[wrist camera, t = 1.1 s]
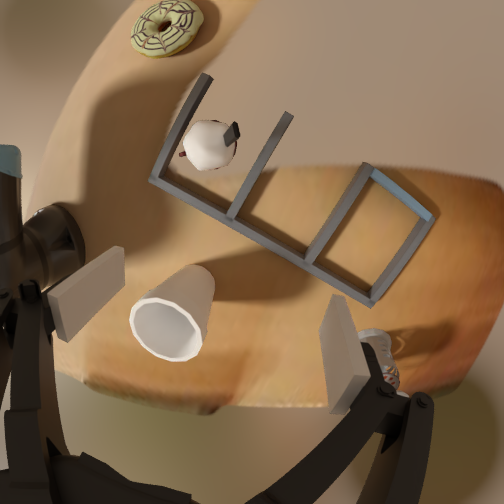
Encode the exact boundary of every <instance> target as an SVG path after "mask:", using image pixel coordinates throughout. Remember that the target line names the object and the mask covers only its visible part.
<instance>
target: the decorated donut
mask: <svg viewBox="0 0 504 504" xmlns="http://www.w3.org/2000/svg"><path fill="white" fill-rule="evenodd" d="M203 21H204V16H203V14H202V12H201V11H200V9H199V7H198V6H197V5H196V4H195V3H193V2H192V1H190V0H164V1H161V2H159V3H156V4H154V5H153V6H151V7H150V8H148V9H147V10H146V11H145V12H144V13H143V14H142V15H140V17H139V18H138V20H137V21H136V23H135V24H134V26H133V28H132V31H131V43H132V46H133V47H134V48H135V50H136V51H137V52H139V53H140V54H142V55H144V56H146V57H150V58H153V59H158V58H163V57H168V56H171V55H173V54H176V53H178V52H179V51H181V50H183V49H184V48H185V47H187V46H188V45H189V44H190V43H191V42H192V41H193V40H194V38H195V36H196V35H197V33H198V30H199V28H200V25H201V24H202V23H203ZM170 22H172V23H171V26H170V27H169V28H168V29H167V30H166V31H165V32H161V30H162V29H163V27H164V26H165V25H166V24H168V23H170Z"/></svg>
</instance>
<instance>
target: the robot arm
mask: <svg viewBox="0 0 504 504" xmlns="http://www.w3.org/2000/svg"><path fill="white" fill-rule="evenodd" d="M21 178H22V174H21V152H20V150H19V148H18V147H16V146H14V145H0V409H1V405H2V401H3V397H4V393H5V389H6V386H7V382H8V379H9V376H10V372H11V391H10V392H11V393H10V396H11V397H10V404H11V405H10V406H11V407H10V410H6V411H5V413H4V426H5V440H6V450H7V459H8V466H9V469H5V470H0V504H199V503H198V502H196V501H194V500H192V499H191V494H188V493H184V492H181V491H177V490H174V489H170V488H167V487H164V486H158V485H151V484H143V483H137V482H132V481H130V480H128V479H127V478H125V477H124V476H122V475H121V474H119V473H118V472H117V471H115V470H114V469H113V468H111V467H110V466H109V465H107V464H106V463H104V462H102V461H100V460H98V459H96V458H94V457H92V456H90V455H88V454H86V453H84V452H82V454H81V455H80V456H76V455H70V453H69V451H68V449H67V446H66V444H65V440H64V435H63V430H62V425H61V420H60V414H59V407H58V401H57V392H56V384H55V372H54V356H53V337H52V332H53V331H54V330H55V329H56V333H57V336H58V338H59V339H61V340H63V341H65V342H67V343H68V342H69V341H70V340H71V339H72V338H73V337H74V336H75V335H76V334H77V333H78V332H79V331H80V330H81V329H82V328H83V327H84V326H85V325H86V324H87V322H88V321H89V320H90V319H91V318H92V317H93V316H94V315H95V314H96V313H97V312H98V311H99V310H100V309H101V308H102V307H103V306H104V305H105V304H106V303H107V302H108V301H109V300H110V299H111V298H112V297H113V296H114V295H115V294H117V293H118V292H119V291H120V290H121V289H122V288H123V287H124V286H125V271H124V248H123V247H119V246H113V247H112V248H110V249H108V250H107V251H105V252H104V253H103V254H101V255H100V256H98V257H97V258H95V259H94V260H92V261H91V262H89V263H88V264H86V265H85V266H84V262H85V247H84V242H83V238H82V234H81V232H80V229H79V227H78V225H77V223H76V222H75V220H74V219H73V217H72V216H71V215H70V214H69V213H68V212H67V211H66V210H65V209H63V208H62V207H60V206H57V205H50V206H47V207H44V208H42V209H40V210H38V211H37V212H36V213H35V214H34V215H33V217H32V218H30V219H29V220H28V221H27V222H26V223H25V224H24V225H23V223H22V207H21ZM83 266H84V267H83ZM51 285H52V286H51ZM47 286H50V287H49V288H48V289H46V290H45V291H44V292H42V293H41V290H43V289H44V288H45V287H47ZM3 327H4V329H3ZM319 336H320V342H321V349H322V356H323V363H324V371H325V378H326V386H327V395H328V404H329V413H330V414H343V415H344V414H345V413H346V412H347V411H348V409H349V408H350V412H349V413H348V414H347V415H346V416H345V417H344V418H343V420H342V421H341V422H340V423H339V424H338V425H337V426H336V427H335V428H334V429H333V430H332V431H331V432H330V433H329V434H328V435H327V437H326V438H324V439H323V441H322V442H320V443H319V444H318V446H317V447H316V448H314V449H313V450H312V451H311V452H310V453H309V454H308V455H307V456H306V457H305V458H304V459H302V460H301V461H300V462H299V463H298V464H297V465H296V466H295V467H293V468H292V469H291V470H290V471H289V472H288V473H286V474H285V475H284V476H283V477H281V478H280V479H279V480H278V481H277V482H275V483H274V484H273V485H272V486H270V487H269V488H268V489H266V490H265V491H263V492H261V493H259V494H258V495H256V496H255V497H253V498H252V499H250V500H249V501H248V502H246V503H245V504H313V503H314V502H315V501H316V500H317V499H318V498H319V497H320V496H321V495H322V494H323V493H324V492H325V491H326V490H327V489H328V488H329V486H330V485H331V484H332V483H333V482H334V481H335V480H336V479H337V478H338V477H339V476H340V474H341V473H342V472H343V471H344V470H345V469H346V467H347V466H348V465H349V464H350V462H352V460H353V459H354V458H355V457H356V455H357V454H358V453H359V451H360V450H361V449H362V447H363V446H364V445H365V444H366V442H367V441H368V440H369V438H370V437H371V435H372V434H373V433H374V432H377V433H381V434H383V435H382V438H381V441H380V444H379V447H378V450H377V453H376V456H375V459H374V462H373V464H372V467H371V470H370V473H369V475H368V478H367V480H366V483H365V485H364V487H363V490H362V492H361V495H360V496H359V499H358V501H357V503H356V504H418V502H419V499H420V495H421V491H422V487H423V482H424V478H425V473H426V468H427V462H428V457H429V450H430V443H431V436H432V427H433V414H434V402H433V400H432V398H431V397H430V396H429V395H427V394H425V393H423V392H416V393H414V394H413V395H412V396H411V398H408V397H405V396H401V395H398V394H397V392H396V389H395V388H394V386H392V385H391V384H390V383H388V382H386V381H385V379H384V376H383V373H382V370H381V368H380V365H379V363H378V359H377V358H376V354H375V351H374V349H373V348H372V346H371V345H370V344H369V343H366V342H360V340H359V337H358V334H357V331H356V328H355V325H354V322H353V319H352V317H351V314H350V311H349V308H348V305H347V302H346V300H345V297H344V296H340V295H335V294H332V297H331V300H330V302H329V305H328V308H327V310H326V313H325V316H324V318H323V321H322V324H321V326H320V329H319Z"/></svg>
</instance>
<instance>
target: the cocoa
mask: <svg viewBox="0 0 504 504" xmlns="http://www.w3.org/2000/svg"><path fill="white" fill-rule="evenodd" d="M239 137H240V132H239V128H238V123H236V122H235V121H234V122H233V123H232V125H231V126H230V127H229V126H228V125H227V124H226V123H222V122H219V121H217V120H212V121H209V120H202V121H198V122H196V123H195V124H194V125H192V127H191V129H190V131H189V132H188V133H187V134H186V136H185V138H184V141H183V146H184V149H185V151H184V152H181V153H179V156H180V157H182V156H186V155H187V158H188V159H189V160H190V161H191V162H192V164H193V165H194V166H195V167H196V168H197V169H198V170H211V169H218V168H220V167H224V166H228V164H229V163H230V161H231V160H232V159H233V156H234V155H235V152H236V147H237V141H236V140H237V139H239Z"/></svg>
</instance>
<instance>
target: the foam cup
mask: <svg viewBox="0 0 504 504" xmlns="http://www.w3.org/2000/svg"><path fill="white" fill-rule="evenodd" d="M214 292H215V280H214V278H213V276H212V275H211V273H210V272H209V271H208V270H206V269H205V268H204V267H202V266H199V265H195V264H192V265H187V266H184V267H183V268H181V269H180V270H179V271H177V272H176V273H175V274H173V275H172V276H171V277H169V278H168V279H167V280H165V281H164V282H163V283H161V284H160V285H159V286H157V287H156V288H154V289H152V290H149V291H148V292H147V293H146V294H145V295H144V296H142V297H141V298H140V299H139V300H138V302H137V303H136V304H135V305H134V306H133V307H132V309H131V314H130V319H129V322H130V325H131V328H132V332H133V335H134V336H135V337H136V339H137V340H138V341H139V342H140V344H141V345H142V346H143V347H144V348H145V349H147V350H148V351H149V352H151V353H152V354H154V355H155V356H157V357H160V358H163V359H166V360H169V361H187V360H189V359H191V358H192V357H194V356H196V355H197V354H198V352H199V350H200V348H201V346H202V344H203V341H204V339H205V336H206V334H207V324H208V319H209V314H210V310H211V305H212V301H213V296H214Z"/></svg>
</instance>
